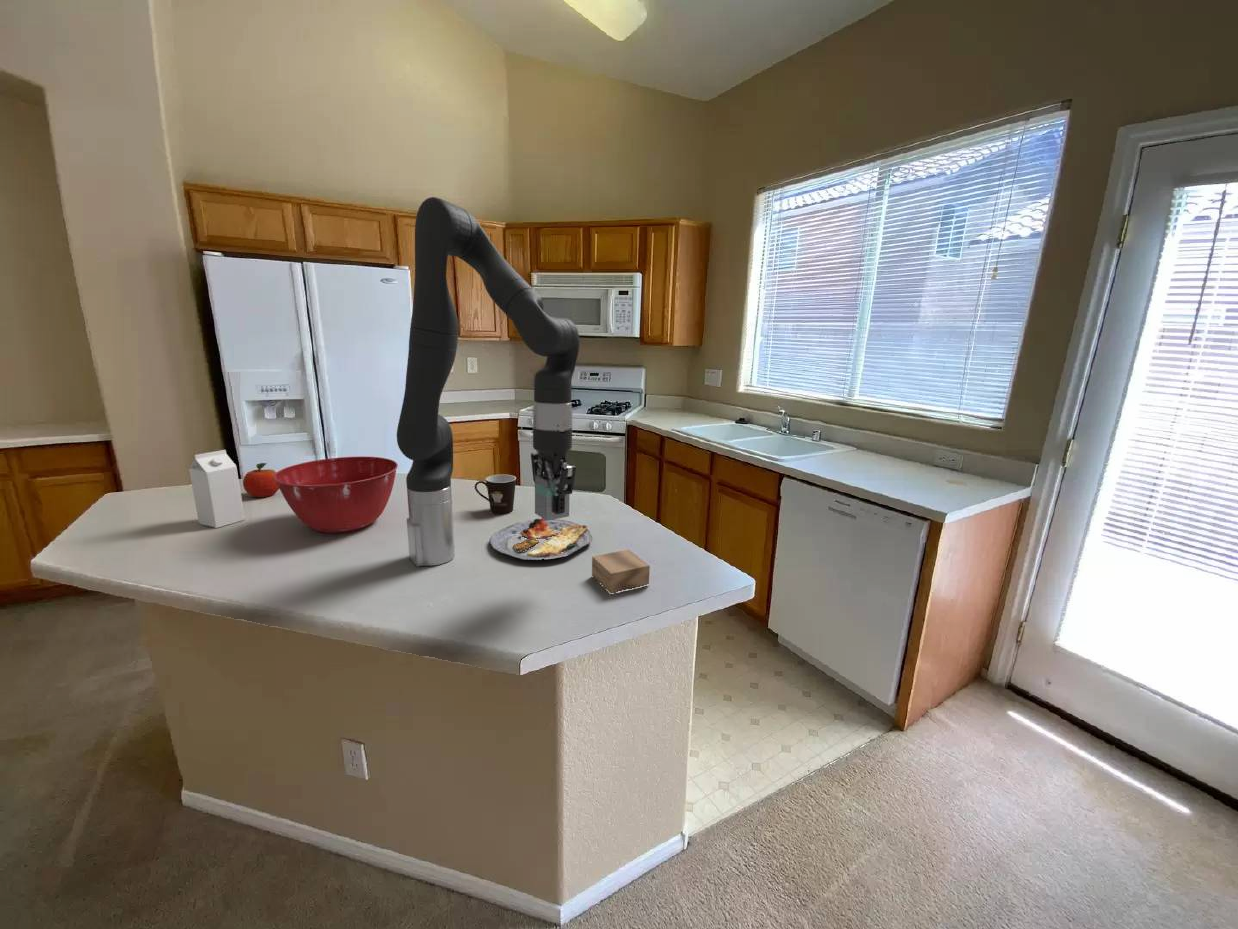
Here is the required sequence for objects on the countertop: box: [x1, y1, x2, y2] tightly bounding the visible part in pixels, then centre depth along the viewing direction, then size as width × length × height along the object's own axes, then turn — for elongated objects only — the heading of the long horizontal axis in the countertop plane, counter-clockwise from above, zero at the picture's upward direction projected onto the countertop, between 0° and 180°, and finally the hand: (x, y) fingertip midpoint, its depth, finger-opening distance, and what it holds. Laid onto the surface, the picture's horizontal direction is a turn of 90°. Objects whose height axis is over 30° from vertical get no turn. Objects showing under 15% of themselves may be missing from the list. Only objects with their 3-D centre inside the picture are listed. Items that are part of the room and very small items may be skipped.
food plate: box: [489, 517, 593, 561], centre depth 126 cm, size 25×23×4 cm
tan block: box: [591, 549, 651, 593], centre depth 107 cm, size 9×9×5 cm
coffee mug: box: [474, 474, 517, 516], centre depth 148 cm, size 12×9×10 cm
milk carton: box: [188, 449, 246, 529], centre depth 131 cm, size 7×7×19 cm
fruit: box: [242, 462, 280, 498], centre depth 154 cm, size 10×10×10 cm
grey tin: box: [534, 474, 570, 521], centre depth 100 cm, size 5×5×8 cm
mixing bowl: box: [273, 456, 399, 534], centre depth 133 cm, size 28×28×16 cm
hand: (551, 508), depth 100 cm, fingers closed on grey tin, 5 cm apart
